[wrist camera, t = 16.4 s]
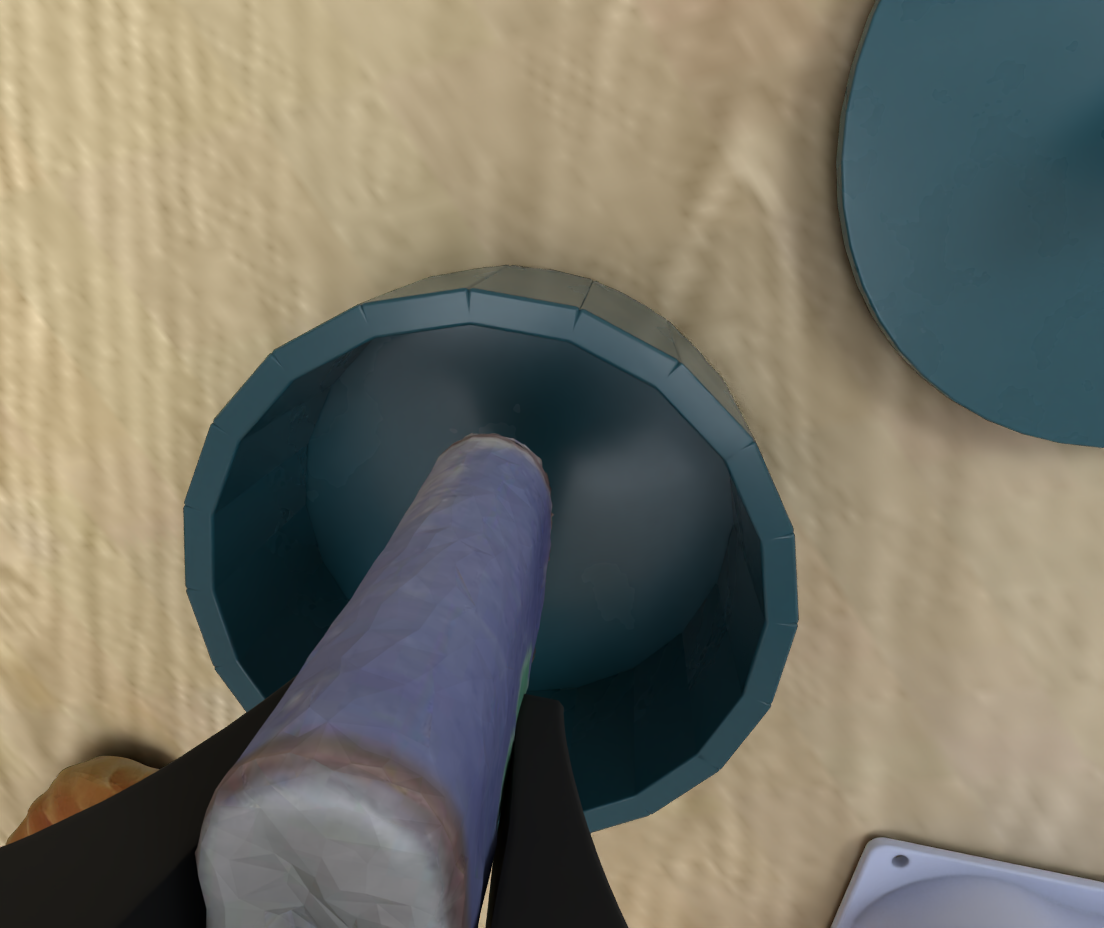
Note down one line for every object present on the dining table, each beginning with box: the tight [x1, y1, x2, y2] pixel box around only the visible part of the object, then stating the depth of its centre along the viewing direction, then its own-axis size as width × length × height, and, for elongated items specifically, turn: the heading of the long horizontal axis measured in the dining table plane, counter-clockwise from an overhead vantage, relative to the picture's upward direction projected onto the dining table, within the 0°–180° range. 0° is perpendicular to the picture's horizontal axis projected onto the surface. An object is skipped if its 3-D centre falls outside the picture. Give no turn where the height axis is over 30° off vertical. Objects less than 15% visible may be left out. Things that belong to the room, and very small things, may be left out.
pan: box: [183, 265, 799, 833], centre depth 18 cm, size 13×13×6 cm
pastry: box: [6, 756, 160, 845], centre depth 25 cm, size 9×7×4 cm
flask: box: [195, 433, 554, 928], centre depth 11 cm, size 9×3×11 cm, turn 167°
